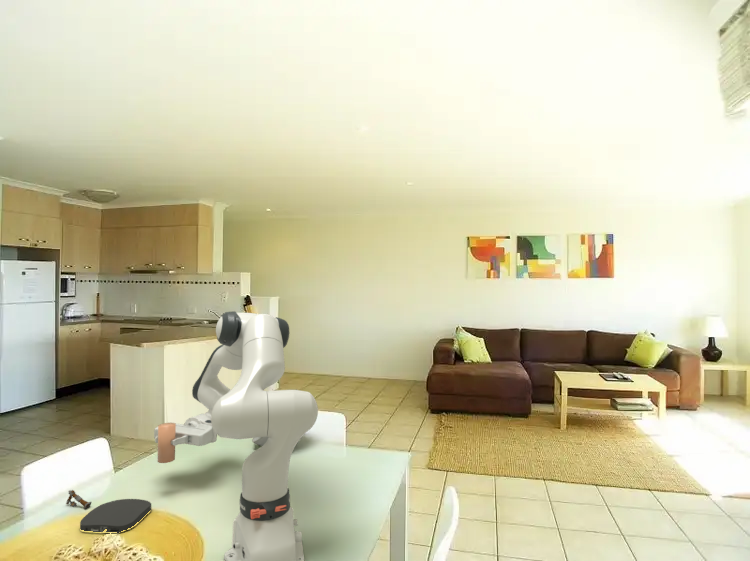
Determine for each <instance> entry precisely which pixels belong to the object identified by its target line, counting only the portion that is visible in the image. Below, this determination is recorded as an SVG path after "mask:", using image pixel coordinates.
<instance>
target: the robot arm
mask: <svg viewBox="0 0 750 561" xmlns="http://www.w3.org/2000/svg"><path fill="white" fill-rule="evenodd" d="M215 334H216V340H217V342H219V344H221V345H218V346H217V347H215V349H214V350H213V351H212V353H211V355H210V356H209V358H208V359H207V362H206V364H205V366H204V368H203V370H202V371H201V373H200V375H199V377H198V378H197V379H196V381H195V382H194V384H193V385H192V391H191V392H192V394H191V395H192V398H193V399H195V400H196V401H197V402H199V403H200V404H202V405H203V406H204V407H205V408H207V410H208V411H207V412H205V413H200V414H196V415H194V416H191V417H189V418H187V419H186V420H185V421H184V424H183V423H175V422H174V423H175V424H176V434H175V438H174V439H172V440H171V445H173V446H175V447H176V446H178V445H182V444H183V445H185V444H186V445H190V446H191V445H192V446H198V447H202V446H205V445H208V444H210V443H211V444H213V443H216V442H217V439H218V437H219V438H222V439H223V438H225V439H233V440H244V439H245V440H246V439H253V438H258V437H269V438H268V440H267V442H266V443H265V444H264V445H263V446H260V447H259V448H257V449H255V450H254V451H252V452H251V453H250V454H249V455H248V456H247V457H246V458H245V460H244V462H243V463H242V470H241V471H242V473H241V474H242V475H241V476H242V478H241V481H242V483H241V486H242V487H241V492H240V496H239V513H238V515H237V516H236V517H235V518H234V519H233V521H232V536H231V537H232V538H231V541H232V542H231V548H230V549H228V550H227V551H225V552H224V555H223V556H224V557H223V558H224V559H223V560H224V561H305V556H304V547H303V539H302V538H303V534H302V531H297V530H295V526H298V518H297V519H296V518H294V508H293V507H291V495H290V489H289V469H290V461H291V458H292V454H293V451H294V449H295V448H296V446H297V443H299V441H300V440H301V439H302V438H303V436H304V435H305V434H306V433H307V432H308V431H310V430H311V429H312V428H313V427H314V425H315V424H316V422H317V419H318V414H319V406H318V403H317V400H316V399H315V397H314V395H313V394H312V393H311V391H306V390H300V389H297V390H296V389H280V390H266V389H268V387H270V386H272V385H274V384H276V383H278V381H279V380H280V379H281V378H282V377H283V376H284V373H285V370H286V365H285V364H286V363H285V351H284V348H286V346H287V345H288V342H289V338H290V335H291V334H290V326H289V324H288V321H287V320H285V319H283V318H280V317H274V316H273V315H271V314H268V313H254V312H237V311H235V310H234V311H226V312H224V313H222V314H221V315H220V317H219V318H218V319H217V323H216V326H215ZM222 368H226V369H228V370H232V371H241V372H240V375H239V378H238V380H237V381H236V384H235V385H234V386H233V387H232V388H231V389H230V388H229V387H228V386H227V385H225V384H224V383H223V382H222V381H221V380H220V379H219V376H218V375H219V373H220V371H221V369H222ZM153 438H154V442H155V443H156V444H158V426H156V427H155V428H154V430H153Z"/></svg>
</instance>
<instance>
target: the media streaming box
mask: <svg viewBox="0 0 750 561" xmlns="http://www.w3.org/2000/svg"><path fill="white" fill-rule="evenodd" d="M150 510H151V511H152V503H151V501H149V500H145V499H140V498H121V499H116V500H111V501H107V502H105V503H102V504H99V506H96V507H95V508H93V509H92V510H91V511H89V512H88V513H87V514H85V516H84V517H83V518H82V519H81V520H80V522H79V526H80V527H79V530H80V529H81V530H84V531H93V532H103V531H104V530H105V529H107V531H106V532H117V533H119V532H121V531H123V530H127V529H128V528H131V527H132V526H134V525H135V524H136V523H137V522H139V521H140V520H141V519H142V518H143V517H144V516H145V515H146V514H147V513H148V512H149V511H150ZM119 534H120V533H119Z"/></svg>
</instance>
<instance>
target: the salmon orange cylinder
mask: <svg viewBox="0 0 750 561" xmlns="http://www.w3.org/2000/svg"><path fill="white" fill-rule="evenodd" d="M176 424H177V423H176ZM176 424H175V422H164V423H161V424H158V425H157V427H158V443H157V463H158V464H159V463H160V464H166V463H171V462H174V461H175V460H176V446H173V445H171V440H172V439H174V438H175V434H176Z"/></svg>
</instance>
